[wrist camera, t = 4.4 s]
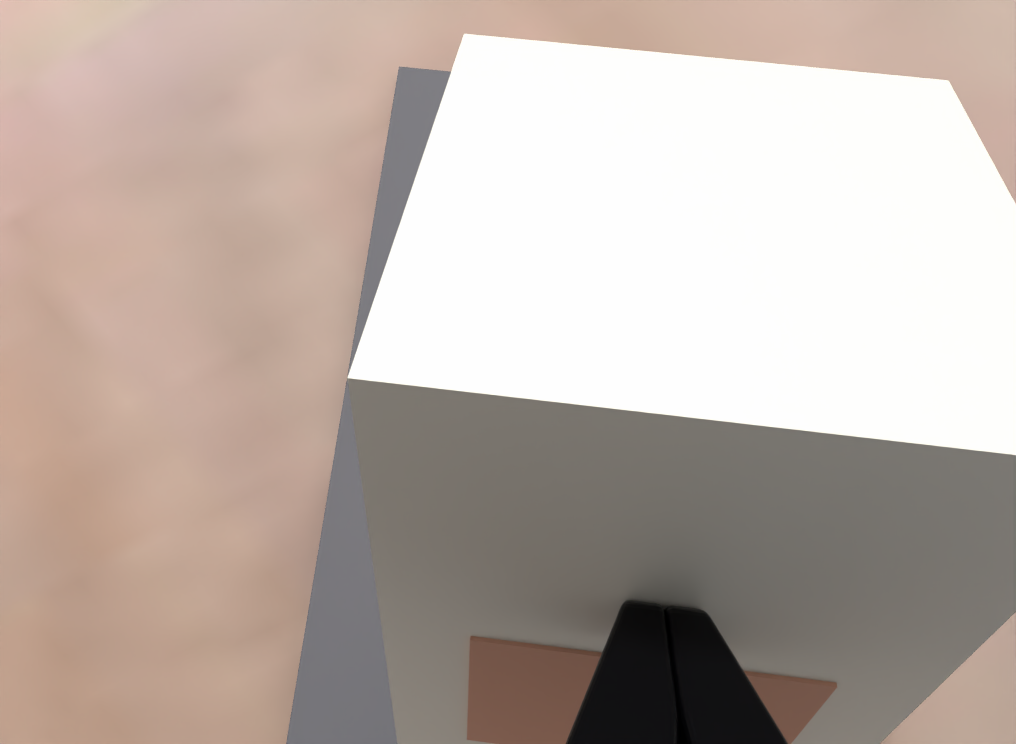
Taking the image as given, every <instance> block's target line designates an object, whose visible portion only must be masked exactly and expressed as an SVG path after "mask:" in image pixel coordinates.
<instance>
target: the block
mask: <svg viewBox="0 0 1016 744" xmlns="http://www.w3.org/2000/svg"><path fill="white" fill-rule="evenodd" d="M347 379H348V386H349V393H350V401H351V408H352V415H353V422H354V430H355V437H356V444H357V452H358V459H359V466H360V474H361V481H362V488H363V496H364V503H365V510H366V517H367V525H368V532H369V539H370V547H371V554H372V561H373V569H374V576H375V583H376V591H377V598H378V605H379V612H380V620H381V627H382V634H383V642H384V649H385V656H386V664H387V671H388V678H389V685H390V693H391V700H392V707H393V715H394V722H395V729H396V737H397V744H565V743H566V741H567V738H568V736H569V734H570V731H571V729H572V726H573V724H574V721H575V719H576V716H577V714H578V711H579V709H580V706H581V704H582V701H583V699H584V696H585V694H586V691H587V689H588V686H589V684H590V681H591V679H592V677H593V674H594V672H595V669H596V667H597V664H598V662H599V659H600V657H601V654H602V652H603V649H604V647H605V644H606V642H607V639H608V637H609V634H610V632H611V629H612V627H613V625H614V622H615V620H616V617H617V615H618V612H619V610H620V607H621V605H622V604H623V602H625V601H627V600H633V601H641V602H649V603H656V604H659V605H661V606H662V607H663V609H665V608H666V607H668V606H672V605H673V606H681V607H689V608H697V609H701V610H704V611H705V612H706V613H708V614H709V616H710V617H711V619H712V620H713V622H714V624H715V625H716V627H717V628H718V630H719V632H720V633H721V635H722V637H723V638H724V640H725V641H726V643H727V645H728V646H729V648H730V650H731V651H732V653H733V654H734V656H735V658H736V659H737V661H738V663H739V664H740V666H741V668H742V669H743V671H744V672H745V674H746V676H747V677H748V679H749V681H750V682H751V684H752V685H753V687H754V689H755V690H756V692H757V694H758V695H759V697H760V698H761V700H762V702H763V703H764V705H765V707H766V708H767V710H768V711H769V713H770V715H771V716H772V718H773V720H774V721H775V723H776V725H777V726H778V728H779V729H780V731H781V733H782V734H783V736H784V738H785V739H786V741H787V742H788V744H880V743H881V742H882V741H883V740H884V739H885V738H886V737H887V736H888V735H889V734H890V733H891V732H892V731H893V730H894V729H895V728H896V727H897V726H898V725H899V724H900V723H901V722H902V721H903V720H904V719H906V718H907V717H908V716H909V715H910V714H911V713H912V712H913V711H914V710H915V709H916V708H917V707H918V706H919V705H920V704H921V703H922V702H923V701H924V700H925V699H926V698H927V697H928V696H929V695H930V694H931V693H932V692H933V691H934V690H935V689H937V688H938V687H939V686H940V685H941V684H942V683H943V682H944V681H945V680H946V679H947V678H948V677H949V676H950V675H951V674H952V673H953V672H954V671H955V670H956V669H957V668H958V667H959V666H960V665H961V664H962V663H963V662H964V661H965V660H966V659H968V658H969V657H970V656H971V655H972V654H973V653H974V652H975V651H976V650H977V649H978V648H979V647H980V646H981V645H982V644H983V643H984V642H985V641H986V640H987V639H988V638H989V637H990V636H991V635H992V634H993V633H994V632H995V631H996V630H997V629H998V628H1000V627H1001V626H1002V625H1003V624H1004V623H1005V622H1006V621H1007V620H1008V619H1009V618H1010V617H1011V616H1012V615H1013V614H1014V613H1015V612H1016V204H1015V202H1014V200H1013V199H1012V197H1011V195H1010V193H1009V191H1008V189H1007V188H1006V186H1005V184H1004V182H1003V180H1002V178H1001V177H1000V175H999V173H998V171H997V169H996V167H995V165H994V164H993V162H992V160H991V158H990V156H989V154H988V153H987V151H986V149H985V147H984V145H983V143H982V141H981V140H980V138H979V136H978V134H977V132H976V130H975V129H974V127H973V125H972V123H971V121H970V119H969V118H968V116H967V114H966V112H965V110H964V108H963V106H962V105H961V103H960V101H959V99H958V97H957V95H956V94H955V92H954V90H953V88H952V86H951V84H950V83H949V81H948V80H938V79H928V78H917V77H907V76H896V75H886V74H876V73H865V72H855V71H845V70H834V69H824V68H814V67H803V66H793V65H783V64H772V63H762V62H751V61H741V60H731V59H720V58H710V57H700V56H689V55H679V54H669V53H658V52H648V51H638V50H627V49H617V48H607V47H596V46H586V45H575V44H565V43H555V42H544V41H534V40H524V39H513V38H503V37H493V36H482V35H472V34H464V36H463V39H462V42H461V45H460V48H459V51H458V53H457V56H456V59H455V62H454V65H453V68H452V71H451V74H450V77H449V80H448V83H447V86H446V89H445V92H444V95H443V98H442V101H441V104H440V107H439V110H438V112H437V115H436V118H435V121H434V124H433V127H432V130H431V133H430V136H429V139H428V142H427V145H426V148H425V151H424V154H423V157H422V160H421V163H420V166H419V168H418V171H417V174H416V177H415V180H414V183H413V186H412V189H411V192H410V195H409V198H408V201H407V204H406V207H405V210H404V213H403V216H402V219H401V222H400V225H399V227H398V230H397V233H396V236H395V239H394V242H393V245H392V248H391V251H390V254H389V257H388V260H387V263H386V266H385V269H384V272H383V275H382V278H381V281H380V283H379V286H378V289H377V292H376V295H375V298H374V301H373V304H372V307H371V310H370V313H369V316H368V319H367V322H366V325H365V328H364V331H363V334H362V337H361V339H360V342H359V345H358V348H357V351H356V354H355V357H354V360H353V363H352V366H351V369H350V372H349V375H348V378H347Z"/></svg>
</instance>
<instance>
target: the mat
mask: <svg viewBox="0 0 1016 744" xmlns="http://www.w3.org/2000/svg"><path fill="white" fill-rule="evenodd" d="M450 74H451V72H448V71H438V70H428V69H418V68H408V67H399V70H398V76H397V82H396V88H395V94H394V100H393V106H392V112H391V118H390V124H389V130H388V136H387V142H386V148H385V154H384V160H383V166H382V172H381V178H380V184H379V190H378V196H377V202H376V208H375V214H374V220H373V226H372V232H371V238H370V244H369V250H368V256H367V262H366V268H365V274H364V280H363V286H362V292H361V298H360V304H359V310H358V316H357V322H356V328H355V334H354V340H353V346H352V352H351V358H350V364H349V370H348V375H349V372H350V369H351V366H352V363H353V360H354V357H355V354H356V351H357V348H358V345H359V342H360V339H361V337H362V334H363V331H364V328H365V325H366V322H367V319H368V316H369V313H370V310H371V307H372V304H373V301H374V298H375V295H376V292H377V289H378V286H379V283H380V281H381V278H382V275H383V272H384V269H385V266H386V263H387V260H388V257H389V254H390V251H391V248H392V245H393V242H394V239H395V236H396V233H397V230H398V227H399V225H400V222H401V219H402V216H403V213H404V210H405V207H406V204H407V201H408V198H409V195H410V192H411V189H412V186H413V183H414V180H415V177H416V174H417V171H418V168H419V166H420V163H421V160H422V157H423V154H424V151H425V148H426V145H427V142H428V139H429V136H430V133H431V130H432V127H433V124H434V121H435V118H436V115H437V112H438V110H439V107H440V104H441V101H442V98H443V95H444V92H445V89H446V86H447V83H448V80H449V77H450ZM347 378H348V376H347ZM286 744H397V737H396V729H395V722H394V715H393V707H392V700H391V693H390V685H389V678H388V671H387V664H386V656H385V649H384V642H383V634H382V627H381V620H380V612H379V605H378V598H377V591H376V583H375V576H374V569H373V561H372V554H371V547H370V539H369V532H368V525H367V517H366V510H365V503H364V496H363V488H362V481H361V474H360V466H359V459H358V452H357V444H356V437H355V430H354V422H353V415H352V408H351V401H350V393H349V386H348V379H347V382H346V388H345V394H344V400H343V406H342V412H341V418H340V424H339V430H338V436H337V442H336V448H335V454H334V460H333V466H332V472H331V478H330V484H329V490H328V496H327V502H326V508H325V514H324V520H323V526H322V532H321V538H320V544H319V550H318V556H317V562H316V568H315V574H314V580H313V586H312V592H311V598H310V604H309V610H308V616H307V622H306V628H305V634H304V640H303V646H302V652H301V658H300V664H299V670H298V676H297V682H296V688H295V694H294V700H293V706H292V712H291V718H290V724H289V730H288V736H287V742H286Z"/></svg>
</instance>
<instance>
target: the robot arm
mask: <svg viewBox="0 0 1016 744" xmlns="http://www.w3.org/2000/svg"><path fill="white" fill-rule="evenodd" d="M565 744H788V742H787V741H786V739H785V738H784V736H783V734H782V733H781V731H780V729H779V728H778V726H777V725H776V723H775V721H774V720H773V718H772V716H771V715H770V713H769V711H768V710H767V708H766V707H765V705H764V703H763V702H762V700H761V698H760V697H759V695H758V694H757V692H756V690H755V689H754V687H753V685H752V684H751V682H750V681H749V679H748V677H747V676H746V674H745V672H744V671H743V669H742V668H741V666H740V664H739V663H738V661H737V659H736V658H735V656H734V654H733V653H732V651H731V650H730V648H729V646H728V645H727V643H726V641H725V640H724V638H723V637H722V635H721V633H720V632H719V630H718V628H717V627H716V625H715V624H714V622H713V620H712V619H711V617H710V616H709V614H708V613H706V612H705V611H704V610H701V609H697V608H689V607H681V606H673V605H672V606H668V607H666V608H665V609H663V607H662V606H661V605H659V604H656V603H649V602H641V601H633V600H627V601H625V602H623V604H622V605H621V607H620V610H619V612H618V615H617V617H616V620H615V622H614V625H613V627H612V629H611V632H610V634H609V637H608V639H607V642H606V644H605V647H604V649H603V652H602V654H601V657H600V659H599V662H598V664H597V667H596V669H595V672H594V674H593V677H592V679H591V681H590V684H589V686H588V689H587V691H586V694H585V696H584V699H583V701H582V704H581V706H580V709H579V711H578V714H577V716H576V719H575V721H574V724H573V726H572V729H571V731H570V734H569V736H568V738H567V741H566V743H565Z"/></svg>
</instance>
